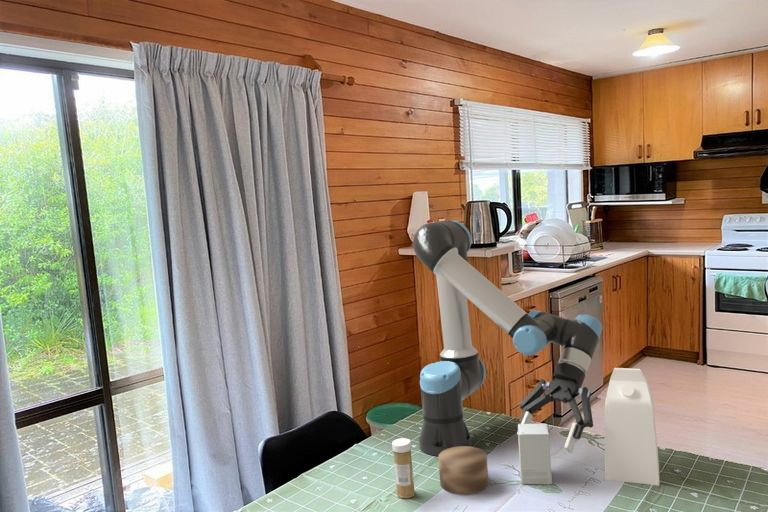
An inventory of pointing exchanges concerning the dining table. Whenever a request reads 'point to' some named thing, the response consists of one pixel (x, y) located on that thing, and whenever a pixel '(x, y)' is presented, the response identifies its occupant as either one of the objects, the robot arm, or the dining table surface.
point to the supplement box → (534, 454)
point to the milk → (630, 429)
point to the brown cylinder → (463, 470)
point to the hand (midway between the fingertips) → (543, 443)
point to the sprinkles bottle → (403, 468)
